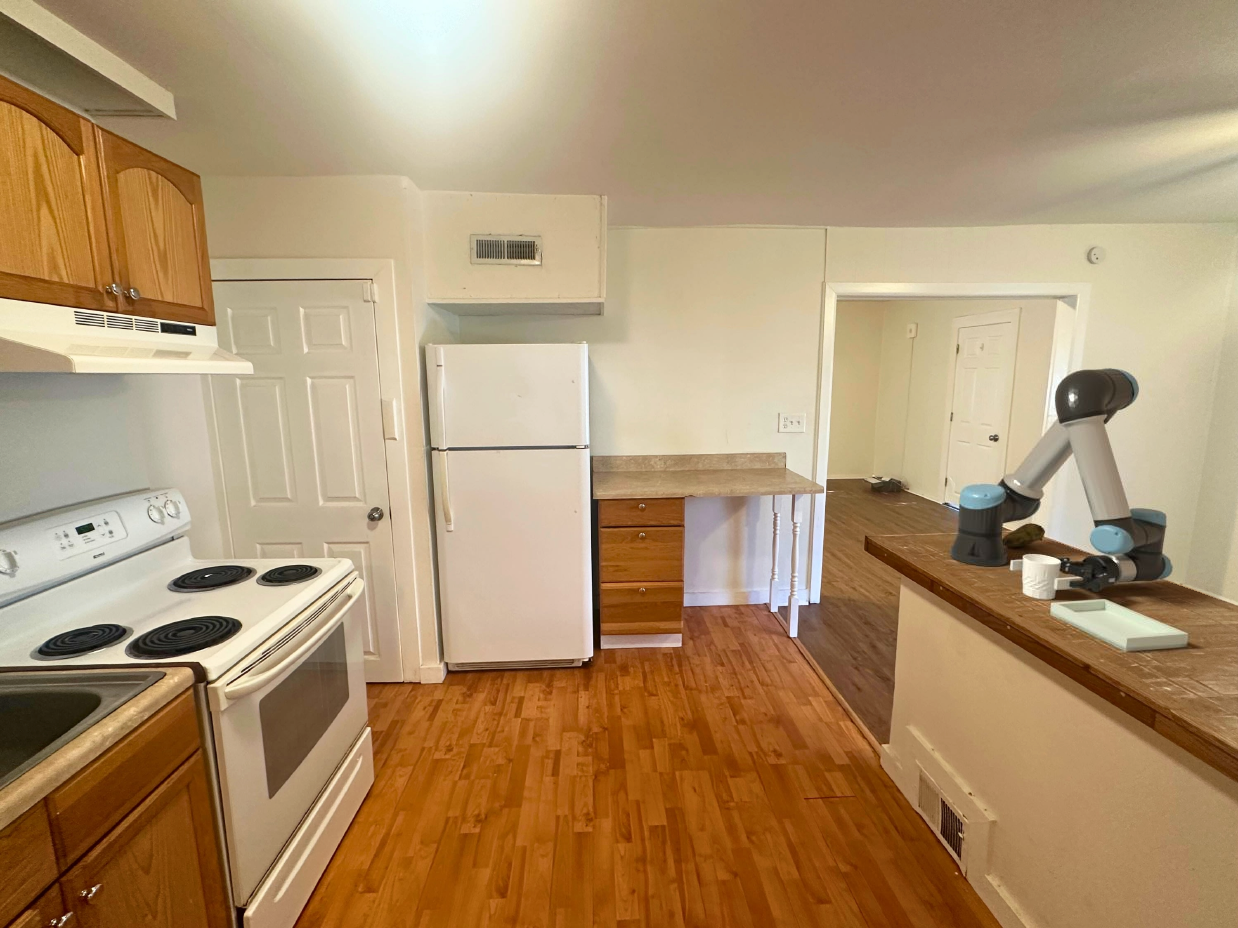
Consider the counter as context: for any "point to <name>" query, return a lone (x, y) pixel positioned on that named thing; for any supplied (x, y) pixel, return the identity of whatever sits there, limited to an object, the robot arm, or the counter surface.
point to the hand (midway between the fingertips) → (1032, 574)
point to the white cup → (1040, 575)
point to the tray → (1119, 625)
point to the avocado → (1024, 535)
